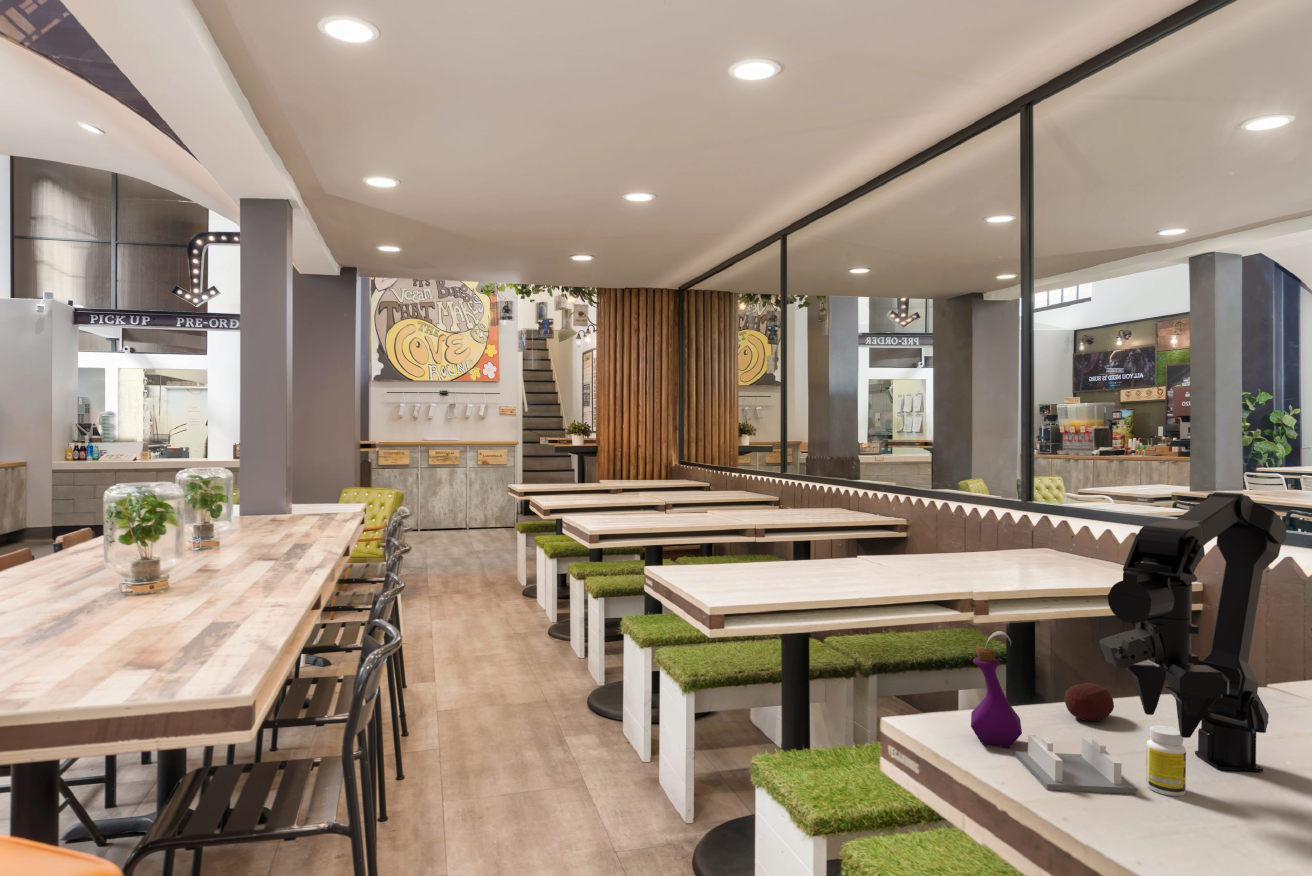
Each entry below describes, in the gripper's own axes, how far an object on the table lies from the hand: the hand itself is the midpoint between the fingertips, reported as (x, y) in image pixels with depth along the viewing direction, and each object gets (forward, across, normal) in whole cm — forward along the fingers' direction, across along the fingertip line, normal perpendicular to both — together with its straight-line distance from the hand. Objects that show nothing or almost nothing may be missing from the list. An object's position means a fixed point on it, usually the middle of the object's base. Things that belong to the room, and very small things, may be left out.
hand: (1166, 725), depth 114 cm
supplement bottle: (+9, 0, 0) cm, 9 cm away
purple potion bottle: (+9, -16, -18) cm, 26 cm away
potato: (+9, -30, +3) cm, 31 cm away
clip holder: (+9, -4, -11) cm, 15 cm away
